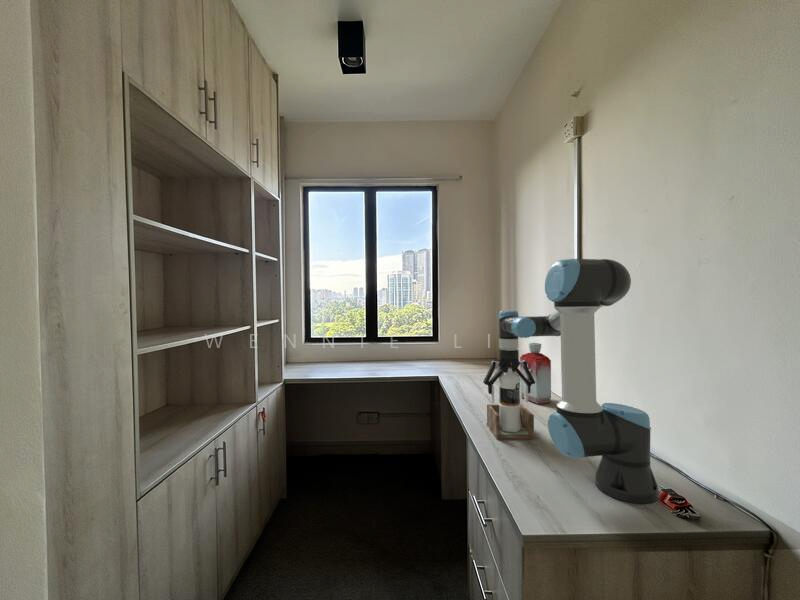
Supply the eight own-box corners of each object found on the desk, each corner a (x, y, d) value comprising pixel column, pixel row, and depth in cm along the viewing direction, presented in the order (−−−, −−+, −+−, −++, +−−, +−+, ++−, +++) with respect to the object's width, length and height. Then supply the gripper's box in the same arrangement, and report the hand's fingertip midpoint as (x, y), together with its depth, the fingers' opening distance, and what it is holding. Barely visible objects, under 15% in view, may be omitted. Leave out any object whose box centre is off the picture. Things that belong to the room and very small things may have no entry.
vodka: (508, 423, 155) (507, 352, 155) (526, 430, 147) (526, 354, 147) (492, 427, 150) (492, 354, 150) (511, 434, 142) (510, 357, 142)
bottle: (518, 398, 198) (518, 342, 198) (534, 396, 201) (534, 341, 201) (536, 405, 184) (535, 345, 184) (553, 403, 187) (552, 344, 187)
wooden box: (534, 439, 141) (534, 415, 141) (497, 439, 141) (496, 416, 140) (520, 424, 157) (520, 403, 157) (486, 425, 157) (486, 404, 156)
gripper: (536, 347, 152) (536, 398, 152) (475, 348, 152) (476, 399, 152) (543, 349, 145) (543, 403, 145) (479, 350, 145) (480, 404, 145)
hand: (509, 401), depth 149 cm, fingers open, 13 cm apart
